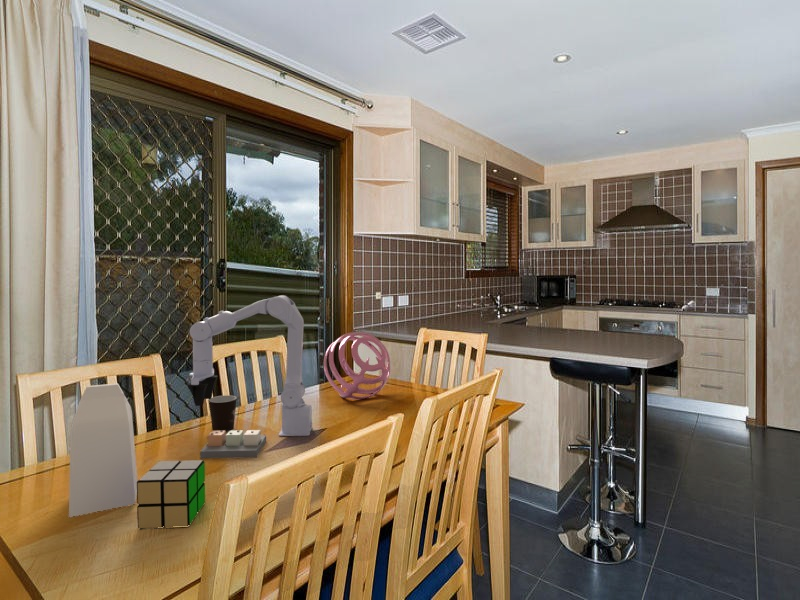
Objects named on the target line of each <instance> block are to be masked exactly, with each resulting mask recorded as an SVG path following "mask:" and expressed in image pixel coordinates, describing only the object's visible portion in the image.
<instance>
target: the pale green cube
mask: <svg viewBox="0 0 800 600" xmlns="http://www.w3.org/2000/svg"><path fill="white" fill-rule="evenodd" d="M243 435H244V430H243V429H242V430H241V429H237V430H235V429H232V430H230V431H227V432H226V446H240V445H241V444H242V443H243Z"/></svg>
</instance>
